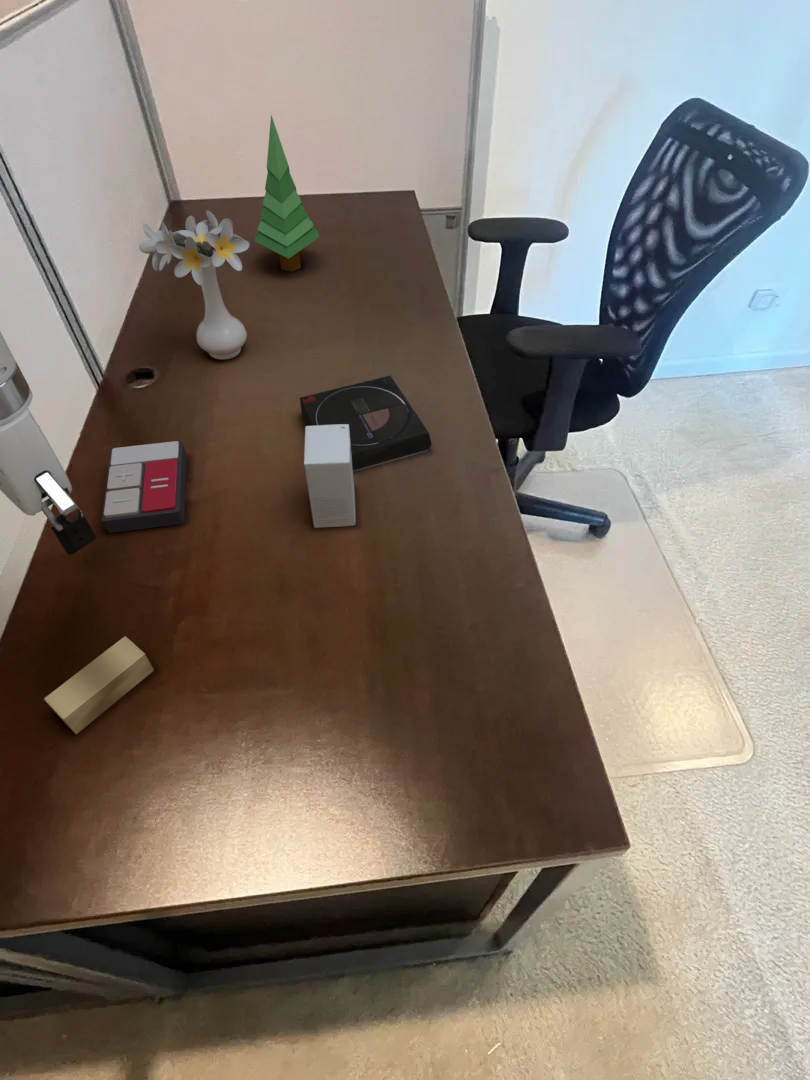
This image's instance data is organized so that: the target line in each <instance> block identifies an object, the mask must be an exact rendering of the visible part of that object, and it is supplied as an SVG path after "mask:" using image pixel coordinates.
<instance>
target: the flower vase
mask: <svg viewBox="0 0 810 1080" xmlns="http://www.w3.org/2000/svg"><path fill="white" fill-rule="evenodd" d="M205 215H206V216H207V219H204V220H202V221H200V222H198V223H196V219H195V217H194V216H193V215H189V216H188V217H187V218H186V219H185V227H184V228H185V229H180V230H177V231H173V232H172V229H169V230H168V228H167V225H166V224H165V222H164V221H162V222H161V227H160V229H158V230H157V231H156V232H155V231H154V230H153V229H152V228H151V226H149V224H148V223H146V222H143V223H142V229H143V232H144V234H145V236H146V237H147V238H148V239H149V240H143V241H140V243H139V244H138V250H139V251H140V252H141V253H143V254H146V255H148V254H149V255H150V254H152V258H151V264H152V268H153V271H155V272H157V271H158V270H159V271H160V272H162V271H163V269H164V268H165V267H166V265H169V264H170V263H171V261H172V259H173V258H176V259H179V260H181V261H179V262H178V263H177V264H176V265H175V267H174V271H173V273H174V276H175V277H176V278H184V277H185V276H188V274H189V273H190V272H191V276H192V279H193V280H194V282H195V283H196V284H197V285H198V286H200V287H201V291H202V295H203V303H204V316H203V319H202V320H201V321H200V322H199V324H198V326H197V328H196V331H195V339H196V343H197V345H198V346H199V347H200V349H202V350H203V351H204V352H206V353H208V355H209V356H210V357H211V358H213V359H216V360H223V361H225V360H230V359H233V358H236V357H237V356H238V355H239V354H240V353H241V351H242V347H243V346H244V344H245V343H246V341H247V337H248V332H247V330H246V326H245V325H244V324H243V322H242V321H241V320H239V319H238V317H235V316H234V315H232V314H231V313H230V311H229V310H228V309H227V307H226V304H225V302H224V300H223V297H222V293H221V289H220V285H219V281H218V277H217V268H219V267H222V265H223V264H225V262H227V263H228V264H229V266H230V267H232V269H234V270H235V271H237V272H241V271H242V270H243V263H242V260H241V259H240V257H239V256H238V255H237V254H240V253H244V252H246V251H247V250H248V249H249V248H250V242H249V241H248V240H246V239H244V238H242V237H241V236H240V235H238V234H235V233H234V223H233V221H232V220H231V219H230V218H223V219H222V220H221V221H220V222H219V221H218V219H217V217H216V216H215V215H214V214H213V213H212V211H210V210H208V209H207V210H205ZM208 222H209V223H208ZM175 241H177V242H175ZM209 245H210V248H207V247H208V246H209Z"/></svg>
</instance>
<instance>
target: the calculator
mask: <svg viewBox="0 0 810 1080" xmlns="http://www.w3.org/2000/svg"><path fill="white" fill-rule="evenodd" d="M108 456H109V458H108V466H107V472H106V473H107V474H106V481H105V489H104V496H103V503H102V513H101V522H102V524H103V525H104V527H105V529H106V531H107V532H108V533H109V534H115V533H122V532H131V531H138V530H145V529H146V530H147V529H153V528H162V527H169V526H176V525H177V526H178V525H179V526H180V525H183V524H184V523H185V518H186V517H185V516H186V515H185V511H186V482H187V481H186V479H187V478H186V476H187V472H188V456H187V452H186V449H185V447H184V444H183V441H182V440H173V441H165V442H163V441H162V442H156V443H145V444H138V445H129V446H128V445H127V446H121V447H119V446H118V447H111V449H110V450H109V455H108Z"/></svg>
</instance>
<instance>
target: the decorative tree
mask: <svg viewBox="0 0 810 1080" xmlns="http://www.w3.org/2000/svg"><path fill="white" fill-rule="evenodd" d="M269 123H270V125H269V132H268V133H269V135H268V136H269V137H268V145H267V147H268V148H267V159H266V170H267V175H266V180H265V186H264V190H265V193H264V196H263V201H262V206H263V207H262V210H261V213H260V216H259V218H260V222H259V225H258V226H257V229H256V231H257V233H256V235H255V238H254V242H255V243H256V244H259V245H261V246H262V247H264V248H266V249H269V250H271V251H273V253H274V252H275V253H276V254H278V255H279V262H280V270H283V271H286V272H287V271H288V272H294V271H297V270H299V269H301V267H302V266H301V265H302V264H301V255H300V251H302V250H303V249H305V248H306V247H307V246H309V245H310V244H311V243H313V242H315V241H316V240H317V239H319V238H320V236H319V235H320V234H319V231H318V230H317V228H316V227H315V226H314V223H313V221H312V219H310V217H309V214H308V212H307V210H306V209H305V207H304V205H303V202H302V198H301V197H300V195H299V194H298V192H297V187H296V184H295V182H294V180H293V176H292V175H291V172H290V171H291V170H290V165H289V163H288V160H287V156H286V154H285V150H284V148H283V144H282V142H281V139H280V136H279V133H278V130H277V127H276V124H275V121H274V119H273V116H272V114H270V122H269Z"/></svg>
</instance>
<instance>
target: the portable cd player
mask: <svg viewBox="0 0 810 1080" xmlns="http://www.w3.org/2000/svg"><path fill="white" fill-rule="evenodd" d="M299 402H300V403H299V404H300V411H301V416H302V419H303V420H304V423H305V425H306V426H317V425H337V424H349V431H350V443H351V456H352V469H353V473H356V472H359V471H363V470H366V469H369V468H374V467H377V466H380V465H384V464H388V463H391V462H395V461H398V460H402V459H406V458H408V457H409V458H410V457H413V456H417V455H420V454H423V453H426V452H429V450H430V449H431V446H432V445H433V444H432V440H431V436H430V432H429V430H428V429H427V428H426V426H425V425H424V423H423V422H422V420H421V418H420V417H419V416H418V414H417V412H416V411H415V410H414V408H413V407H412V405H411V403H410V402H409V401H408V399H407V398H406V397H405V395H404V394H403V392H402V390H401V389H400V388H399V386H398V384H397V383H396V382H395V380H394V379H393V377H392V375H387V376H383V377H378V378H375V379H374V378H373V379H370V380H365V381H362V382H358V383H354V384H350V385H345V386H342V387H338V388H337V387H336V388H333V389H329V390H324V391H321V392H318V393H313V394H309V395H304V396H301V397H299Z"/></svg>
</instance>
